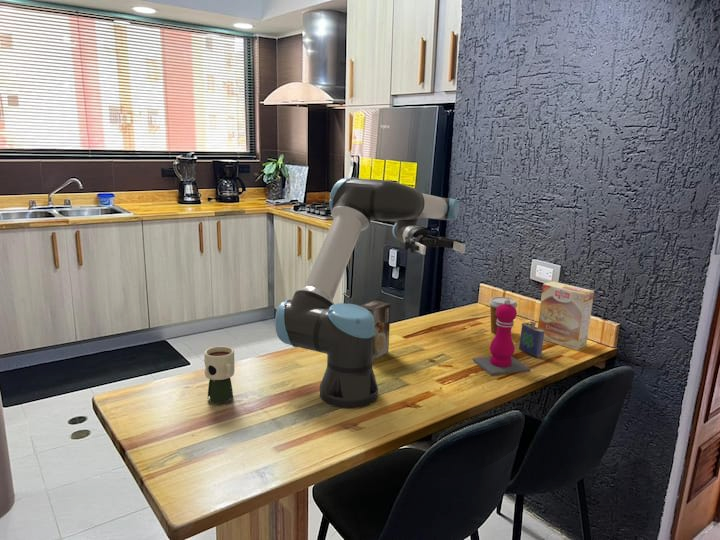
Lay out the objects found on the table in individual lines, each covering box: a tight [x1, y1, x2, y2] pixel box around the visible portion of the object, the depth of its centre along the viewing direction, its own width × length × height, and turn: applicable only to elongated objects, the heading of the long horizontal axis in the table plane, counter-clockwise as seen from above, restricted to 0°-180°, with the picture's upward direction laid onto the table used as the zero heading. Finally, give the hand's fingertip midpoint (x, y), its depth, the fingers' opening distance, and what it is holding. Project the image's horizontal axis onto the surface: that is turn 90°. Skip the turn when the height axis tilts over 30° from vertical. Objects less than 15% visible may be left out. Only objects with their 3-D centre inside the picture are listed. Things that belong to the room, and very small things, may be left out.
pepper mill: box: [489, 299, 518, 367], centre depth 162 cm, size 7×7×20 cm
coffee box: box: [359, 299, 392, 361], centre depth 168 cm, size 9×6×16 cm
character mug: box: [203, 345, 235, 404], centre depth 135 cm, size 11×7×13 cm, turn 41°
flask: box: [518, 320, 545, 359], centre depth 175 cm, size 9×3×11 cm, turn 25°
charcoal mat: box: [471, 355, 531, 376], centre depth 165 cm, size 13×11×1 cm
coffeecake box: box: [537, 280, 595, 351], centre depth 185 cm, size 15×7×20 cm, turn 42°
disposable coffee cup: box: [488, 296, 518, 335], centre depth 192 cm, size 10×10×12 cm
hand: (444, 249), depth 171 cm, fingers open, 13 cm apart
